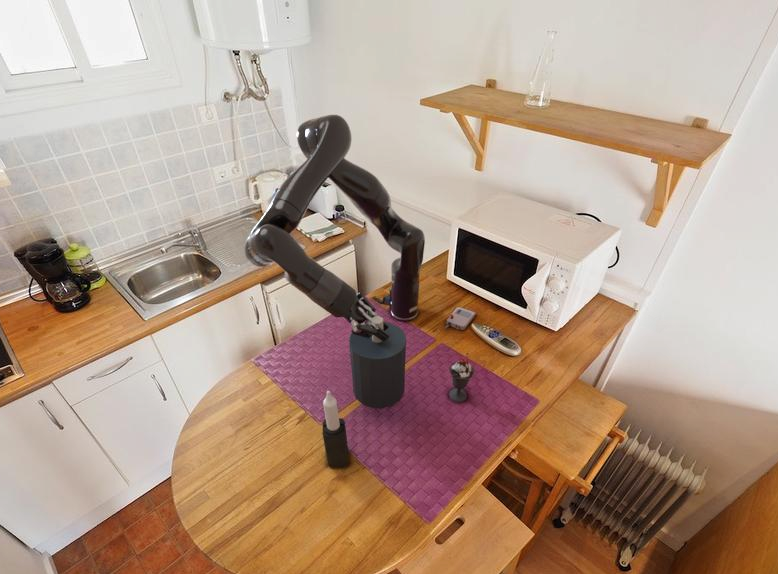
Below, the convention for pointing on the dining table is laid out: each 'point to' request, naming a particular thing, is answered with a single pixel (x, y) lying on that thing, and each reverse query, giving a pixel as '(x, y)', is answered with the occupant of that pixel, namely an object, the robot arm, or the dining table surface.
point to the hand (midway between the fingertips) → (386, 333)
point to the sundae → (460, 378)
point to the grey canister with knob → (378, 366)
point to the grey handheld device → (460, 318)
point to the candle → (334, 434)
